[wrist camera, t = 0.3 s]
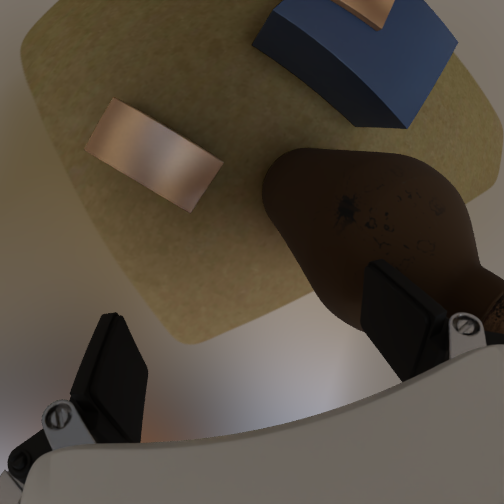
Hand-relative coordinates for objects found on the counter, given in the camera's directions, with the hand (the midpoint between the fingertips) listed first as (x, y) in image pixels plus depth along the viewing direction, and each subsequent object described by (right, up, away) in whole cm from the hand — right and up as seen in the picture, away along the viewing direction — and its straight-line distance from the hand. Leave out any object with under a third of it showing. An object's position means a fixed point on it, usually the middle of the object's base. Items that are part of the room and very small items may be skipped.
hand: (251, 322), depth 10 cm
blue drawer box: (+10, +25, +13) cm, 30 cm away
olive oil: (+6, +9, +19) cm, 22 cm away
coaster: (+9, +23, +3) cm, 25 cm away
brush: (-9, +12, +15) cm, 21 cm away
